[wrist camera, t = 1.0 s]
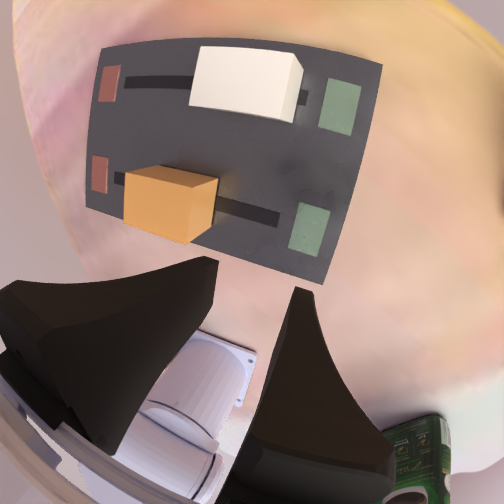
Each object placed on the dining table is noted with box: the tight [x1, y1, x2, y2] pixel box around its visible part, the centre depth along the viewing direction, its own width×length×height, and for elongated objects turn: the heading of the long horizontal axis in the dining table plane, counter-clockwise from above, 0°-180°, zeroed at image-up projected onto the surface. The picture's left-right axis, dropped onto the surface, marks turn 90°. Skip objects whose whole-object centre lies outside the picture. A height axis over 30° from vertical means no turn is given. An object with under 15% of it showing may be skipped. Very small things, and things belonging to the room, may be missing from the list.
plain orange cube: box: [124, 165, 218, 245], centre depth 18 cm, size 4×5×4 cm
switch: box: [189, 46, 304, 123], centre depth 14 cm, size 4×5×4 cm
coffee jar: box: [374, 415, 451, 504], centre depth 16 cm, size 10×8×19 cm
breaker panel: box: [86, 38, 383, 285], centre depth 18 cm, size 15×22×2 cm
